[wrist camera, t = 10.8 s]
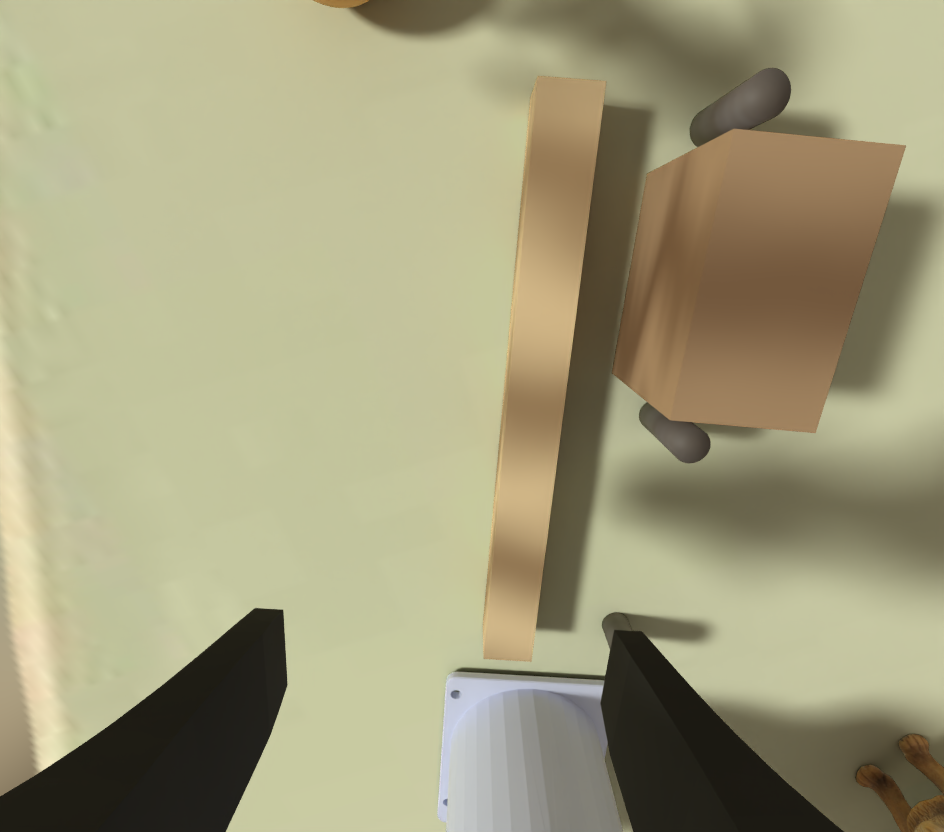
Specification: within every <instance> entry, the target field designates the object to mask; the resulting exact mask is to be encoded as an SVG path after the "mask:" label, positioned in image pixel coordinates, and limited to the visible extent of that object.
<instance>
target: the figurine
mask: <svg viewBox="0 0 944 832" xmlns="http://www.w3.org/2000/svg"><path fill="white" fill-rule="evenodd" d="M314 1H316V2H318V3H320V4H323V5H326V6H330V7H336V8H349V7H355V6H358V5H361V4H364V3H366V2H368V1H369V0H314Z"/></svg>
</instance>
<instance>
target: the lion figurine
mask: <svg viewBox="0 0 944 832" xmlns="http://www.w3.org/2000/svg"><path fill="white" fill-rule="evenodd" d="M899 747H900V749H901V750H902V752H903V753H904V754H905V758H906V759H907V760H908V761H909V762H910V763H911V764H912V765H914V766H915V767H916V768H917V769H919V770H920V771H921V772H922V773H923V774H924V775H925V776H926V777H927V778H928V779H930V780H931V781H932V782H933V783H934V784H935V785H936V786H937V788H938V789H939V790H940V791H941V792H942V794H943V795H944V767H942V766H941V765H940V764H939V763H938V762H937V761H936V760H935V759H934V758H933V757H932V756H931V754H930V753H929V744H928V742H927V740H926V739H925V738H923V737H922V736H920V735H917V734H910V735H906V736H905V737H903V738H902V739H900V740H899ZM856 781H857V782H858V783H859V784H860V785H861V786H863V787H869V788H871V789H873V790H874V791H875V792H876V793H877V794H878V795H879V797H880V798H881V799H882V800H883V802H884V803H885V804H886V806H887V807H888V809H889V810H890V812H891V813H892V815H893V817H894V819H895V822H896V823H897V825H898V827H899V829H900V830H901V832H944V796H943V795H938V796H935V797H934V798H932V799H930V800H924V801H921V802H919V803H918V804H917V805H916V806H914V807H913V808H912V809H911V807H910V806H909V804H908V803H907V802H906V800H905V798H904V796H903V795H902V793H901V791H900V789H899V787H898V786H897V784H896V783H895V781H894V780H893V779H892V778H891V777H890V776H889V775H887V774H885V773H883V772H882V771H881V770H880V769H879V768H878V767H876V766H873V765H870V764H868V765H865V766H861V767H860V769H859V770H858V772H857V776H856Z"/></svg>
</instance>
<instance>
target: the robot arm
mask: <svg viewBox="0 0 944 832" xmlns="http://www.w3.org/2000/svg"><path fill="white" fill-rule="evenodd" d="M286 688H287V669H286V651H285V634H284V616H283V610H277V609H260V608H255V609H253V610H252V611H251V612H250V613H249V614H247V615H246V616H245V617H244V618H243V619H241V620H240V621H239V622H238V623H237V624H235V625H234V626H233V627H232V628H231V629H229V630H228V631H227V632H226V633H225V634H224V635H222V636H221V637H220V638H219V639H218V640H217V641H215V642H214V643H213V644H212V645H211V646H209V647H208V648H207V649H206V650H205V651H204V652H202V653H201V654H200V655H199V656H198V657H196V658H195V659H194V660H193V661H192V662H190V663H189V664H188V665H187V666H185V667H184V668H183V669H182V670H181V671H179V672H178V673H177V674H176V675H174V676H173V677H172V678H171V679H170V680H168V681H167V682H166V683H165V684H163V685H162V686H161V687H160V688H158V689H157V690H156V691H154V692H153V693H152V694H150V695H149V696H148V697H146V698H145V699H144V700H143V701H141V702H140V703H139V704H137V705H136V706H135V707H133V708H132V709H131V710H129V711H128V712H127V713H125V714H124V715H123V716H122V717H120V718H119V719H118V720H116V721H115V722H114V723H112V724H111V725H109V726H108V727H107V728H105V729H104V730H102V731H101V732H100V733H98V734H97V735H95V736H94V737H92V738H91V739H89V740H88V741H87V742H85V743H84V744H82V745H81V746H79V747H78V748H76V749H75V750H73V751H72V752H70V753H69V754H67V755H66V756H64V757H63V758H61V759H60V760H58V761H57V762H55V763H54V764H52V765H51V766H49V767H48V768H46V769H45V770H43V771H41V772H40V773H38V774H37V775H35V776H34V777H32V778H30V779H29V780H27V781H25V782H24V783H22V784H20V785H19V786H17V787H15V788H14V789H12V790H10V791H9V792H7V793H5V794H4V795H2V796H0V832H226V830H227V828H228V825H229V823H230V821H231V819H232V817H233V815H234V813H235V810H236V808H237V806H238V804H239V802H240V800H241V798H242V796H243V793H244V791H245V789H246V787H247V785H248V783H249V781H250V778H251V776H252V774H253V772H254V770H255V768H256V765H257V763H258V761H259V759H260V757H261V755H262V752H263V750H264V748H265V746H266V744H267V741H268V739H269V737H270V735H271V732H272V729H273V726H274V723H275V720H276V718H277V715H278V712H279V709H280V706H281V703H282V700H283V697H284V694H285V691H286ZM454 690H458V691H459V692H454ZM607 745H608V746H609V751H610V756H611V759H612V763H613V766H614V769H615V773H616V776H617V779H618V783H619V786H620V789H621V793H622V796H623V799H624V802H625V806H626V809H627V812H628V815H629V819H630V822H631V825H632V828H633V832H844V831H842V830H841V829H840V828H839V827H838V826H836V825H835V824H834V823H833V822H831V821H830V820H829V819H828V818H827V817H826V816H824V815H823V814H822V813H821V812H820V811H819V810H817V809H816V808H815V807H814V806H813V805H812V804H811V803H809V802H808V801H807V800H806V799H805V798H804V797H803V796H801V795H800V794H799V793H798V792H797V791H796V790H795V789H793V788H792V787H791V786H790V785H789V784H788V783H787V782H786V781H784V780H783V779H782V778H781V777H780V776H779V775H778V774H777V773H776V772H775V771H774V770H773V769H771V768H770V767H769V766H768V765H767V764H766V763H765V762H764V761H763V760H762V759H761V758H760V757H759V756H758V755H757V754H756V753H755V752H754V751H753V750H752V749H751V748H750V747H749V746H748V745H747V744H746V743H745V742H744V741H743V740H742V739H740V738H739V737H738V736H737V735H736V734H735V733H734V732H733V730H732V729H731V728H730V727H729V726H728V725H727V724H726V723H725V722H724V721H723V720H722V719H721V718H720V717H719V716H718V715H717V714H716V713H715V712H714V711H713V710H712V709H711V708H710V707H709V706H708V704H707V703H706V702H705V701H704V700H703V699H702V698H701V697H700V696H699V695H698V694H697V693H696V692H695V690H694V689H693V688H692V687H691V686H690V685H689V684H688V683H687V682H686V681H685V679H684V678H683V677H682V676H681V675H680V674H679V673H678V672H677V670H676V669H675V668H674V667H673V666H672V665H671V664H670V663H669V661H668V660H667V659H666V658H665V657H664V656H663V655H662V654H661V652H660V651H659V650H658V649H657V648H656V647H655V646H654V644H653V643H652V642H651V641H650V640H649V639H648V638H647V637H646V636H645V634H644V633H643V632H641V631H625V630H614V633H613V638H612V644H611V649H610V654H609V660H608V665H607V670H606V676H605V680H591V679H574V678H557V677H540V676H523V675H506V674H489V673H472V672H453V673H450V674H449V675H448V676H447V679H446V693H445V708H444V723H443V738H442V753H441V769H440V784H439V799H438V814H437V815H438V818H439V819H440V820H441V821H443V822H446V832H623V829H622V825H621V821H620V817H619V813H618V810H617V806H616V802H615V798H614V794H613V790H612V787H611V783H610V779H609V775H608V771H607V767H606V764H605V755H606V750H607Z"/></svg>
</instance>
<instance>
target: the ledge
mask: <svg viewBox="0 0 944 832" xmlns="http://www.w3.org/2000/svg"><path fill="white" fill-rule="evenodd" d="M605 88H606V81H598V80H585V79H572V78H559V77H546V76H538V77H537V80H536V83H535V86H534V89H533V92H532V94H531V97H530V107H529V118H528V129H527V141H526V152H525V163H524V174H523V185H522V196H521V207H520V218H519V229H518V241H517V252H516V263H515V274H514V285H513V296H512V307H511V318H510V329H509V341H508V352H507V363H506V374H505V385H504V396H503V407H502V418H501V429H500V441H499V452H498V463H497V474H496V485H495V496H494V507H493V518H492V529H491V541H490V552H489V563H488V574H487V585H486V596H485V607H484V618H483V653H484V659H496V660H513V661H530V662H531V660H532V653H533V645H534V637H535V629H536V622H537V614H538V606H539V598H540V591H541V583H542V575H543V567H544V560H545V552H546V544H547V536H548V529H549V521H550V513H551V505H552V498H553V490H554V482H555V475H556V467H557V459H558V451H559V444H560V436H561V428H562V420H563V413H564V405H565V397H566V389H567V382H568V374H569V366H570V358H571V351H572V343H573V335H574V327H575V320H576V312H577V304H578V297H579V289H580V281H581V273H582V266H583V258H584V250H585V242H586V235H587V227H588V219H589V211H590V204H591V196H592V188H593V180H594V173H595V165H596V157H597V150H598V142H599V134H600V126H601V119H602V111H603V103H604V95H605ZM790 94H791V85H790V81H789V79H788V77H787V75H786V74H785V73H784V72H783V71H781V70H779V69H776V68H768V69H764V70H762V71H760V72H758V73H757V74H756V75H754V76H753V77H751V78H750V79H748V80H747V81H745V82H744V83H742V84H741V85H739V86H738V87H736V88H735V89H733V90H732V91H730V92H729V93H727V94H726V95H724V96H723V97H721V98H720V99H718V100H717V101H715V102H714V103H712V104H711V105H709V106H708V107H706V108H705V109H703V110H702V111H700V112H699V113H698V114H697V115H696V116H695V117H694V119H693V120H692V123H691V126H690V137H691V140H692V142H693V143H694V144H695V145H696V146H697V147H699V146H701V145H703V144H705V143H707V142H709V141H711V140H713V139H715V138H717V137H719V136H721V135H723V134H724V133H726V132H728V131H730V130H732V129H743V130H749V129H751V128H753V127H755V126H757V125H759V124H762V123H764V122H766V121H768V120H770V119H772V118H774V117H776V116H777V115H778V114H780V113H781V112H782V111H783V110H784V108H785V107H786V105H787V103H788V101H789V98H790ZM639 419H640V422H641V423H642V425H643V426H644V427H645V428H646V429H647V430H649V431H650V432H651V433H652V434H653V435H654V436H655V437H656V438H657V439H658V440H659V441H660V442H661V443H662V444H663V445H664V446H665V447H666V448H667V449H668V450H669V451H670V452H671V453H672V454H673V455H674V456H675V457H676V458H677V459H679V460H680V461H682V462H684V463H695V462H698V461H700V460H701V459H703V458H704V457H705V456H706V455H707V453H708V452H709V449H710V438H709V436H708V435H707V434H706V433H705V432H704V431H703V430H701V429H700V428H698V427H697V426H696V425H694V424H693V423H692V422H684V421H672V420H669V419H668V418H666V417H665V416H664V415H663V414H662V413H660V412H659V411H658V410H657V409H655V408H654V407H653V406H652V405H650V404H649V403H648V402H647V403H646V404H644V405H643V407H642V408H641V410H640V413H639ZM602 628H603V631H604V633H605V636H606V639H607V642H608V645H609V648H610V649H611V644H612V638H613V633H614V630H625V631H632V628H631V626H630V624H629V621H628V619H627V617H626V616H625V615H623V614H621V613H612V614H609V615H607V616H606V617H605V618H604V619H603V621H602Z"/></svg>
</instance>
